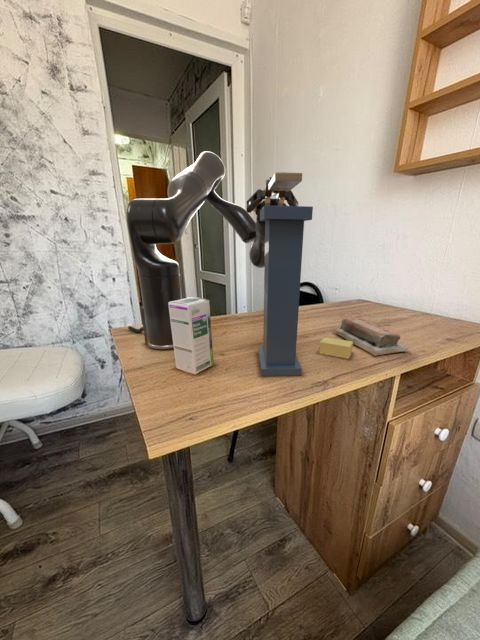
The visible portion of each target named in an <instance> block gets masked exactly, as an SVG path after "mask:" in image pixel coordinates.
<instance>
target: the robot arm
mask: <svg viewBox="0 0 480 640" xmlns="http://www.w3.org/2000/svg"><path fill="white" fill-rule="evenodd" d="M225 175H226V167H225V164H224V161H223V160H222V159H221V158H220V156H219V155H217V154H216V153H215V152H212V151H209V150H207V151H202V152H201V153H200V154H199V155H198V157H197V158H196V160H195V162H194V163H192V164H191V165H189V166H187V167H186V168H185V169H184V170H182V171H181V172H178V174H176V175H175V176H173V178H172V179H171V180H170V182H169V183H168V186H167V198H166V197H165V198H147V197H145V198H141V197H140V198H133V199H131V200H130V201H129V202H128V204H127V206H126V226H127V230H128V235H129V240H130V245H131V251H132V256H133V260H134V265H135V267H136V268H137V273H138V279H139V280H138V281H139V286H140V294H141V301H142V302H141V303H142V306H140V315H141V316H140V317H141V322H142V327H139V328H135V327H133V326H130V325H129V326H128V327H127V329H128V330H130V331H132V332H133V333H137V334H141V333H143V337H144V343H145V345H147V346H148V347H149V348H151V349H154V350H174V346H173V338H172V330H171V322H170V314H169V306H168V302H171V301H176V300H180V299H183V294H182V293H183V292H182V281H181V270H180V265H179V262H177V261H176V260H174V259H172V258H169V257H167V256H165V255H163V254H162V253H161V252H160V251H159V250H158V248H157V245H173V244H176V243H178V242H179V241H180V239H181V238H182V237H183V235H184V233H185V232H186V229H187V227H188V226H189V223H190V221H191V220H192V218H193V217H194V216H195V214H196V213H197V211H198V210H199V209H201V207H202V206H203V204H204V203H205V201H207V203H209V205H210V206H211V207H213V208H214V209H215V210H216V211H217V213H218V214H220V216H222V217H223V218H224V219H225V220H226V222H227V223H228V224H229V225H230V227H231V228H232V229H233V231H234V232H235V234H236V235H238V237H239V238H240V240H241V241H242V242H243V243H244V244H250V243H252V244H251V246H250V249H249V260H250V262H251V265H253V266H254V267H255V268H257V269H264V267H265V221H260V210H261V209H262V208H263V207H264V206H299V201H298V199H297V198H296V196H295V195H294V193H293V191H292V190H290V191H280V192H279V193H278V194H277V195H276V196H275V197H276V198H272V191H269V190H268V184H269V182H270V181H271V179H272V177H273V176H269V178H268V179H266V180H265V187H264V189H263V190H262V189H257V190H256V191H255V192H254V193H253V194H252V195H251V196H250V197H249V198H248V199H247V201H246V209H245V208H244V207H243V206H241V205H239V204H235V203H233V202H230V201H227V200H225V199H223V198H221V197H220V196H219V195H218V193H216V191H215V190H216V189H217V187H218V186H219V185H220V183H221V182H222V181H223V179H224V178H225ZM285 201H286V203H287V204H286V203H285ZM252 212H254V213H255V215H256V217H255V218H256V220H255V219H254V217H252V215H251V214H250V213H252Z"/></svg>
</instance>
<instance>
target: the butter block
mask: <svg viewBox="0 0 480 640" xmlns="http://www.w3.org/2000/svg"><path fill="white" fill-rule="evenodd" d="M353 348H354V344H353V342H352V341H348V340H346V339H338V338H333V337H327V336H324V337H323V338H322V339H321V340H320V342H319V352H318V354H321V355H324V356H325V355H326V356H331V357H336V358H341V359H345V360H346V359H347V360H349V359H350V357H351V355H352V353H353Z"/></svg>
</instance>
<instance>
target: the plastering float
mask: <svg viewBox="0 0 480 640" xmlns="http://www.w3.org/2000/svg"><path fill="white" fill-rule="evenodd" d="M334 332H335V334H336V335H338V336H340V337H341V338H343V339H344V340H346V341H352V342H353V346H354V345H355V346H357V347H359V348H361V349H362V350H364V351H366V352H367V353H368V354H371V355H372V356H374V357H376V356H381V355H387V354H393V353H400V352H405V353H406V352H408V350H409V346H406V345H403V344H401V343H399V341H400V339H401V336H400V335H399V334H398V333H396V332H393V331H391V330H389V329H387V328H385V327H382V326H380V325H378V324H376V323H374V322H371V321H369V320H366V319H365V318H362V317H358V316H355V317H345V318H343V319H342V320H341V324H340V328H338V327H336V328H335V330H334Z"/></svg>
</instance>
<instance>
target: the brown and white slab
mask: <svg viewBox="0 0 480 640" xmlns="http://www.w3.org/2000/svg"><path fill="white" fill-rule="evenodd" d="M271 177H272V179H271V181H270V182H269V184H268V190H269V191H272V195H271V197H272V196H273V197H277V194H278V193H279V192H280V191H290V190H291V191H292V190H293V189H294V188H295V187H297V186H298V185H299V184H301V183H302V182H303V172H291V171H290V172H289V171H288V172H287V171H286V172H282V171H275V172H274V174H273V175H272V176H271Z"/></svg>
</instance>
